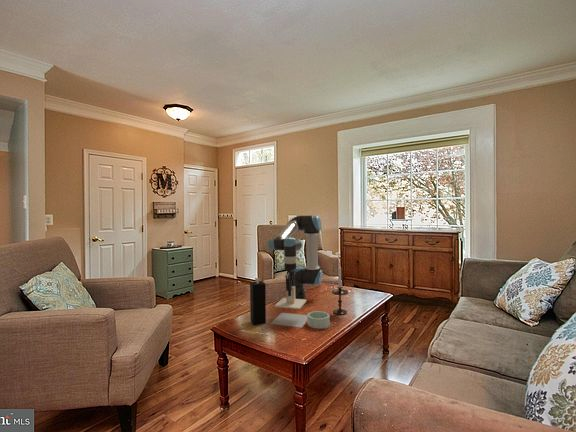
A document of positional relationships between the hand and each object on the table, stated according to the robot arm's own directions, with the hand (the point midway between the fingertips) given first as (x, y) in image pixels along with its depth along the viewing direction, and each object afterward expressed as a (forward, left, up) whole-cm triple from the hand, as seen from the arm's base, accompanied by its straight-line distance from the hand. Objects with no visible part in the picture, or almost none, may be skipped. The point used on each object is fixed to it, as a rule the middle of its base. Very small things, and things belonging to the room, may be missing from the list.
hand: (291, 299), depth 185 cm
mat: (0, 0, -13) cm, 13 cm away
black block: (+10, -18, -13) cm, 25 cm away
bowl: (+2, +18, -13) cm, 22 cm away
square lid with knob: (0, 0, -2) cm, 2 cm away
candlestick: (-23, +27, -13) cm, 38 cm away
